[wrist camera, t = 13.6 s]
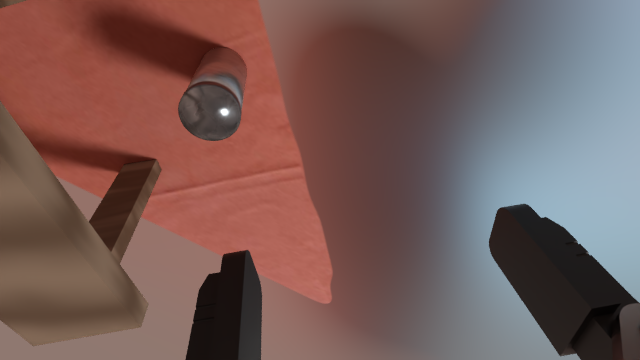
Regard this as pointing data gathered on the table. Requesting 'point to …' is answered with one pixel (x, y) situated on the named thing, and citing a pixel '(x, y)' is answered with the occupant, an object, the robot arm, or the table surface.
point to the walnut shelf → (65, 246)
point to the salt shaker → (215, 95)
